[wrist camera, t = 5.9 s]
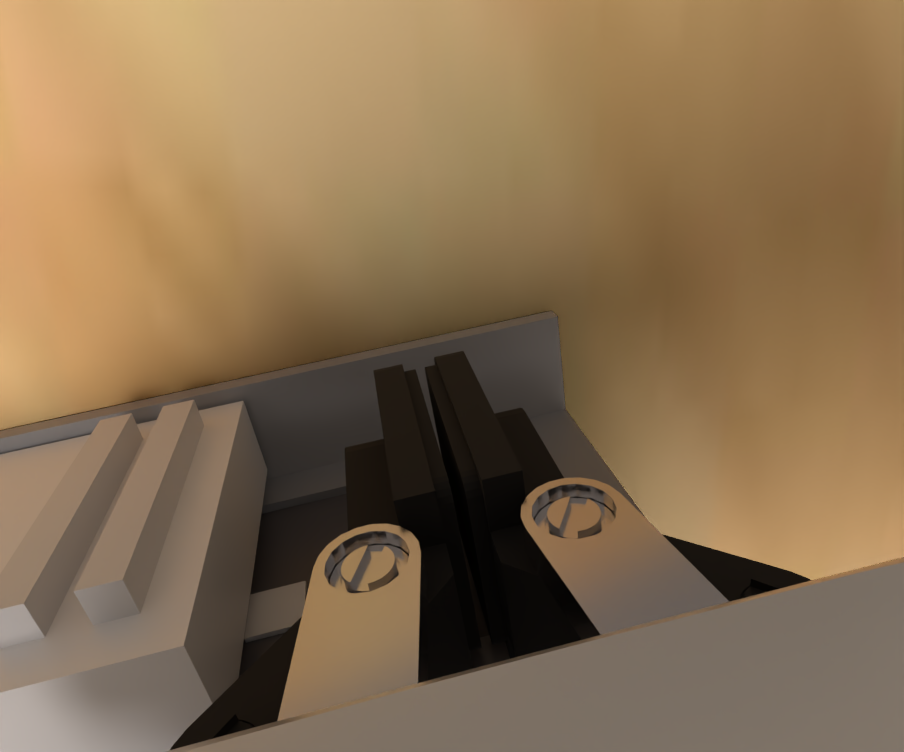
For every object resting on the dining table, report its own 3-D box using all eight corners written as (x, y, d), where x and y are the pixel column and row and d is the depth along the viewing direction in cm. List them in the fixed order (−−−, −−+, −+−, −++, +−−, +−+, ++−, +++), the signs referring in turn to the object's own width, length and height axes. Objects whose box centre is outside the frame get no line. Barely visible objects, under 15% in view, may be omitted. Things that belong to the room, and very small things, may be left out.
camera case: (551, 311, 14) (813, 574, 7) (584, 675, 20) (747, 1046, 12) (-149, 463, 13) (-830, 1020, 5) (96, 810, 18) (-63, 1328, 11)
